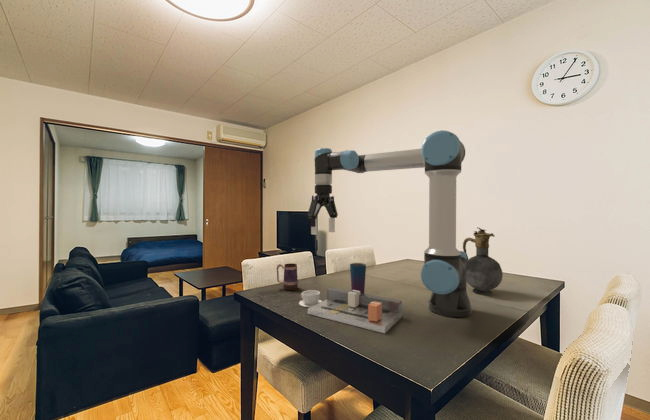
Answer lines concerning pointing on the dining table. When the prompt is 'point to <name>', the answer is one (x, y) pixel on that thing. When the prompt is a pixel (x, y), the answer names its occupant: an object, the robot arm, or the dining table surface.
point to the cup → (358, 276)
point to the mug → (289, 276)
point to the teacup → (310, 298)
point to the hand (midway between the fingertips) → (323, 233)
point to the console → (357, 310)
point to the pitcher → (482, 265)
